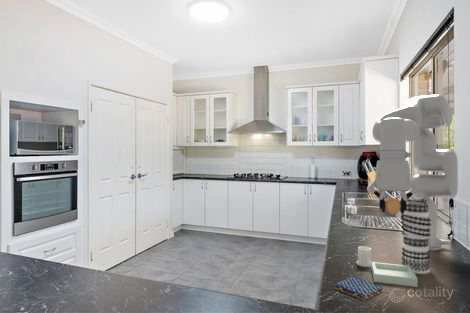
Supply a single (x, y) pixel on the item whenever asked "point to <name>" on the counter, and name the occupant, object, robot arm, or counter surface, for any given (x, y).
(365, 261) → the white octagonal socket
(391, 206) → the ball
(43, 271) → the counter surface
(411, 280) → the tray
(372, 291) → the woven mat
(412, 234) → the patterned cylinder
